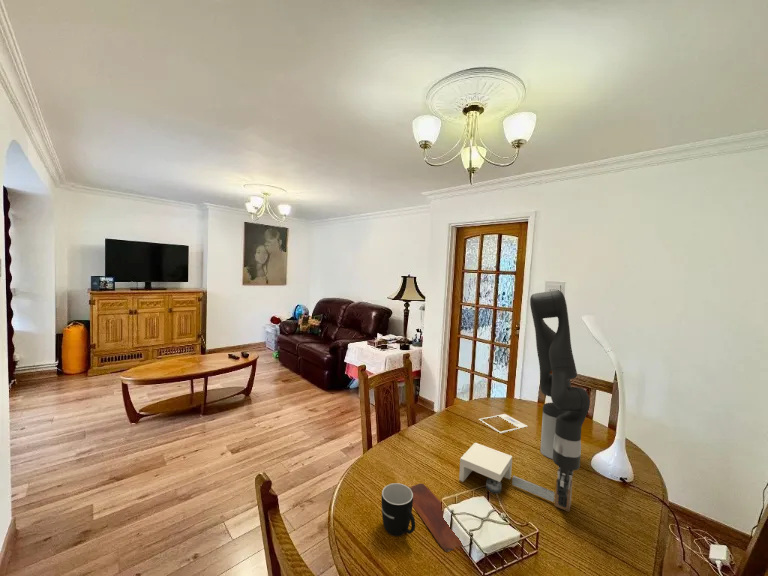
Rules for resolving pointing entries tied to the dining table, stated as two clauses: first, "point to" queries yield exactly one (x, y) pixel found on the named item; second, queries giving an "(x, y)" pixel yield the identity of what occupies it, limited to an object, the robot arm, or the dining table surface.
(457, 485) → the dining table surface
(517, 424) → the photo frame
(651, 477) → the dining table surface
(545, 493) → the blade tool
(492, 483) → the token
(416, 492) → the wooden tablet
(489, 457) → the plinth shelf
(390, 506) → the mug
